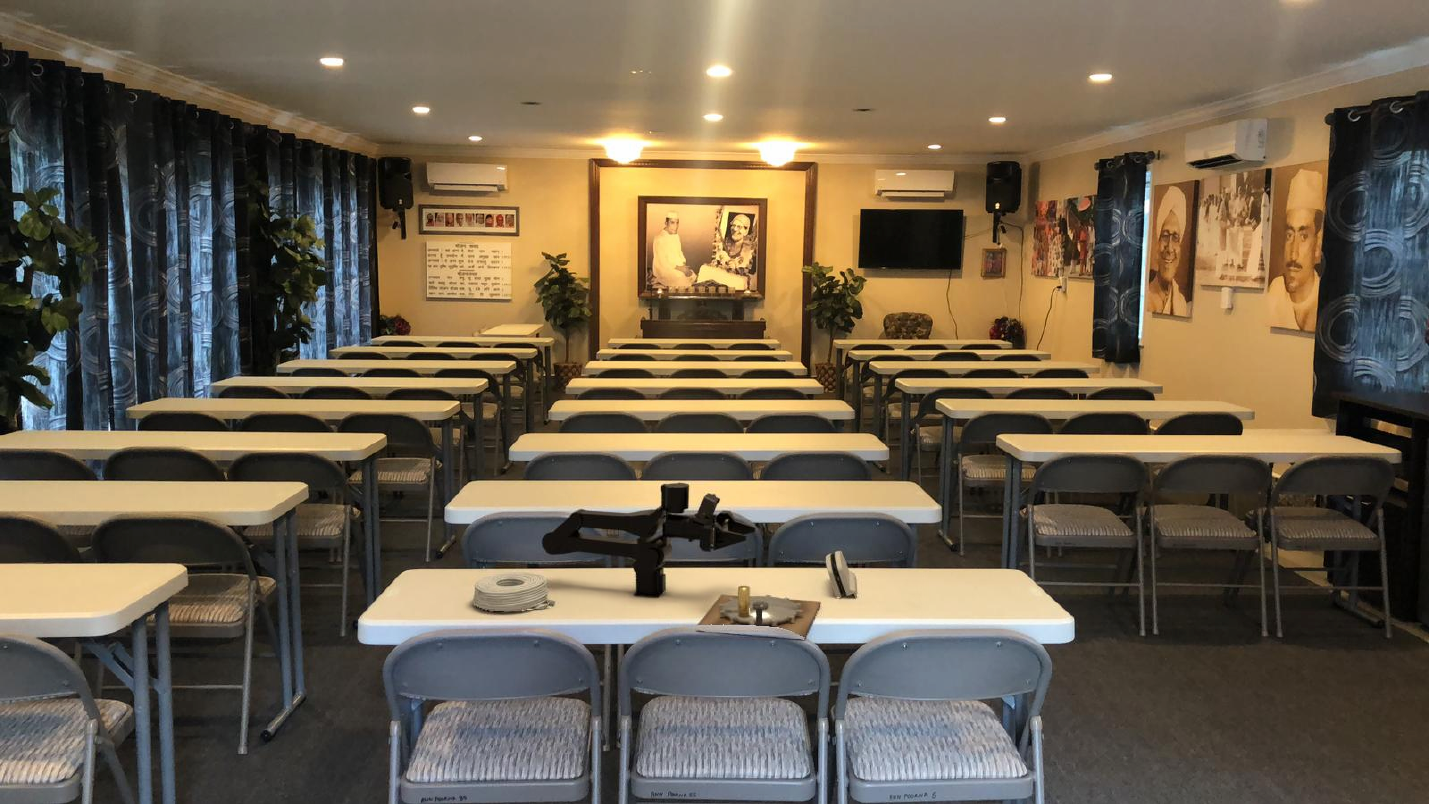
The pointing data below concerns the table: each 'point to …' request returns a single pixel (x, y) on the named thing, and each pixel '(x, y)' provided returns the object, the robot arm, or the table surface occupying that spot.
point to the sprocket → (771, 609)
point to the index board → (798, 627)
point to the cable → (511, 592)
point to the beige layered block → (841, 575)
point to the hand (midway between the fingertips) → (750, 533)
